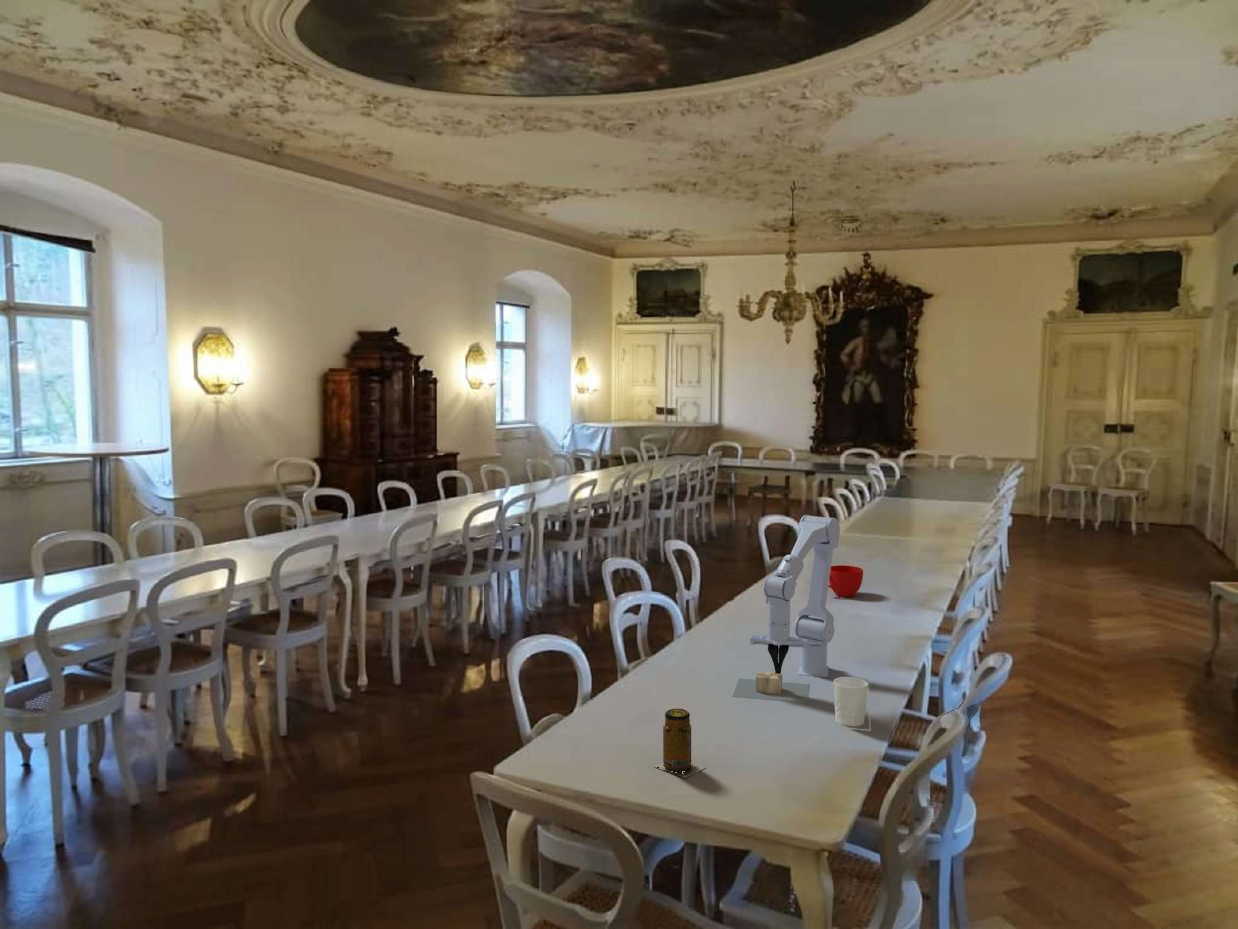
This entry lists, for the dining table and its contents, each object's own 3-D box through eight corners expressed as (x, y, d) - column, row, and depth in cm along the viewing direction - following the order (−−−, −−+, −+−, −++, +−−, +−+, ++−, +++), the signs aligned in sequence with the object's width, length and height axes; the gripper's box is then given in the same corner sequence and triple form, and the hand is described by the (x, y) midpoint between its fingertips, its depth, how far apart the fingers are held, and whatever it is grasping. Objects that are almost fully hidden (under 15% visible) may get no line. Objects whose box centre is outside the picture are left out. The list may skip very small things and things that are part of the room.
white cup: (843, 730, 208) (844, 689, 207) (826, 718, 215) (827, 678, 214) (873, 726, 210) (874, 686, 209) (855, 714, 217) (856, 675, 216)
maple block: (782, 688, 234) (757, 686, 236) (782, 673, 234) (757, 671, 235) (780, 693, 230) (755, 691, 232) (780, 679, 230) (755, 676, 232)
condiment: (675, 756, 194) (675, 703, 193) (706, 768, 189) (706, 714, 187) (653, 767, 189) (653, 713, 188) (684, 779, 183) (684, 724, 182)
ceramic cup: (811, 593, 336) (812, 567, 335) (850, 589, 341) (851, 564, 340) (829, 601, 324) (829, 574, 323) (869, 597, 329) (870, 571, 328)
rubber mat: (739, 679, 242) (739, 678, 242) (809, 685, 237) (809, 684, 237) (732, 698, 229) (732, 696, 229) (807, 704, 224) (807, 703, 224)
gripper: (749, 624, 229) (748, 675, 230) (806, 628, 225) (805, 679, 226) (752, 617, 235) (751, 666, 237) (807, 620, 232) (806, 670, 233)
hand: (778, 672), depth 232 cm, fingers closed
